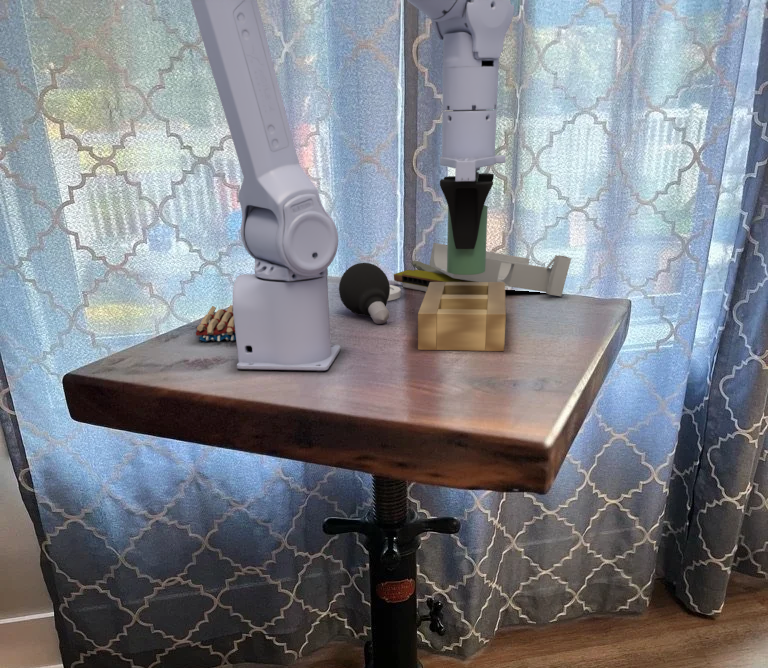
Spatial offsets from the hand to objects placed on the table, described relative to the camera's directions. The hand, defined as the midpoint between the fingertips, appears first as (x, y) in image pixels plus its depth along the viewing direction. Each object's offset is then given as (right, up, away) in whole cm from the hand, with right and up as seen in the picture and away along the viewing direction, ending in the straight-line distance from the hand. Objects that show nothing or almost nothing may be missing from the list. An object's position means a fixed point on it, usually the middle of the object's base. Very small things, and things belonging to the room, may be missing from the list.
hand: (466, 245), depth 89 cm
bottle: (0, -3, +1) cm, 3 cm away
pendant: (-12, +2, +22) cm, 24 cm away
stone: (-4, +6, +30) cm, 31 cm away
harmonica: (-2, +3, +21) cm, 22 cm away
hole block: (0, -9, +3) cm, 10 cm away
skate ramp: (+6, +2, +21) cm, 22 cm away
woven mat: (-26, -7, +4) cm, 27 cm away
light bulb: (-11, -6, +10) cm, 16 cm away
